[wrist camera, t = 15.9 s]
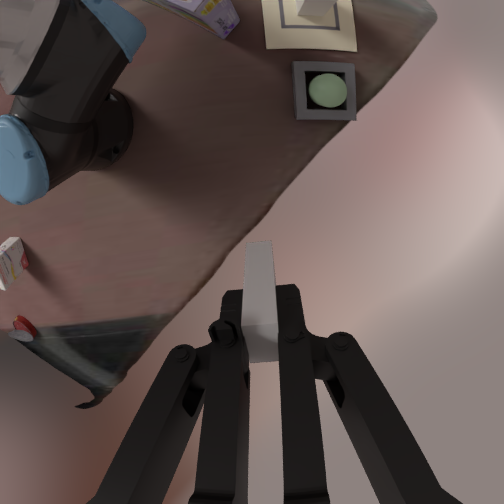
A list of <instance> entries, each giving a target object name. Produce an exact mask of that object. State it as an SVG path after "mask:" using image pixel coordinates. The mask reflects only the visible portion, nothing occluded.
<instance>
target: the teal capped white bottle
mask: <svg viewBox="0 0 504 504" xmlns="http://www.w3.org/2000/svg"><path fill="white" fill-rule="evenodd" d="M337 1H338V0H295V2H296V10H297V15H306V16H324V15H325V14H326V13H327V12H328V10H329V9H330V8H331V7H332V6H333V5H334V4H335V3H336V2H337Z"/></svg>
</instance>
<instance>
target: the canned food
mask: <svg viewBox="0 0 504 504" xmlns="http://www.w3.org/2000/svg"><path fill="white" fill-rule="evenodd" d="M13 325H14V328H15V329H16V330H14V331H12V332H9V333H8V335H9V336H11V337H13V338H15V339H18V340H21V341H32V340H33V339H34V337H35V336H36V334H37V332H36V330H35V328H34V326H33V325H32V324H31V323H30V322H29V321H28V320H27V319H26V318H24V317H23V316H20V315H18V316H17V317H16V319H15V320H14V321H13Z"/></svg>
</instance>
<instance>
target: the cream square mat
mask: <svg viewBox="0 0 504 504" xmlns="http://www.w3.org/2000/svg"><path fill="white" fill-rule="evenodd" d="M262 9H263V19H264V29H265V39H266V49H326V50H340V51H351V52H357V44H356V34H355V25H354V16H353V9H352V2H351V0H338V1H337V2H336V3H335V4H334V5H333V6H332V7H331V8H330V9H329V10H328V12H327V13H326V14H325V15H324V16H306V15H297V10H296V2H295V0H262Z"/></svg>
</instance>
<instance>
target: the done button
mask: <svg viewBox="0 0 504 504" xmlns="http://www.w3.org/2000/svg"><path fill="white" fill-rule="evenodd" d="M307 94H308V96H309V98H310V99H311V100H312V101H313V102H314V103H315V104H317V105H321V106H325V107H336V106H339V105H341V104H342V103H343V102H344V101H345V99H346V96H347V87H346V85H345V83H344V81H343V80H342V79H341V78H340V77H338V76H336V75H334V74H322V75H319V76H315V77H313V78H312V79H311V80H310V81H309V83H308V85H307Z"/></svg>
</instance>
